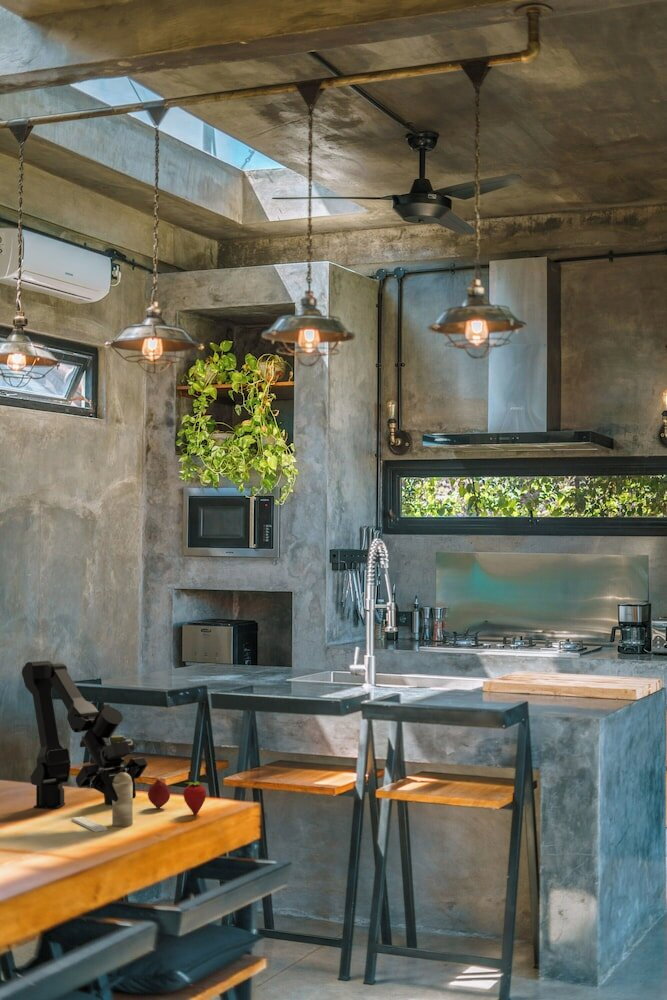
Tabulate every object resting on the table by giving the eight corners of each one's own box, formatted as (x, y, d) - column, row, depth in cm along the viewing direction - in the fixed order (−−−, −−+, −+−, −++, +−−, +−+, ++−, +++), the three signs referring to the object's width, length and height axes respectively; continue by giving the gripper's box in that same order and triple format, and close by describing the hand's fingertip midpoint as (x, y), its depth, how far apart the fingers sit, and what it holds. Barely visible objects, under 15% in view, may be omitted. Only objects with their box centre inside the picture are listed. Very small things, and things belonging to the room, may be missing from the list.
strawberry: (180, 817, 312) (180, 778, 312) (186, 811, 319) (186, 773, 320) (203, 817, 312) (203, 778, 312) (208, 811, 319) (208, 773, 320)
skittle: (109, 826, 302) (109, 773, 302) (116, 822, 307) (116, 770, 307) (128, 827, 301) (128, 774, 301) (135, 823, 306) (135, 770, 306)
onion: (172, 806, 326) (172, 776, 327) (167, 810, 321) (167, 780, 321) (151, 805, 327) (151, 775, 327) (145, 810, 321) (145, 779, 322)
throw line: (71, 820, 309) (71, 817, 309) (82, 818, 311) (82, 816, 311) (95, 831, 296) (95, 829, 296) (107, 830, 298) (107, 827, 298)
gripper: (82, 733, 301) (107, 783, 293) (143, 725, 314) (169, 773, 306) (64, 761, 306) (89, 812, 298) (125, 753, 319) (150, 801, 311)
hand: (125, 798), depth 303 cm, fingers closed on skittle, 5 cm apart
